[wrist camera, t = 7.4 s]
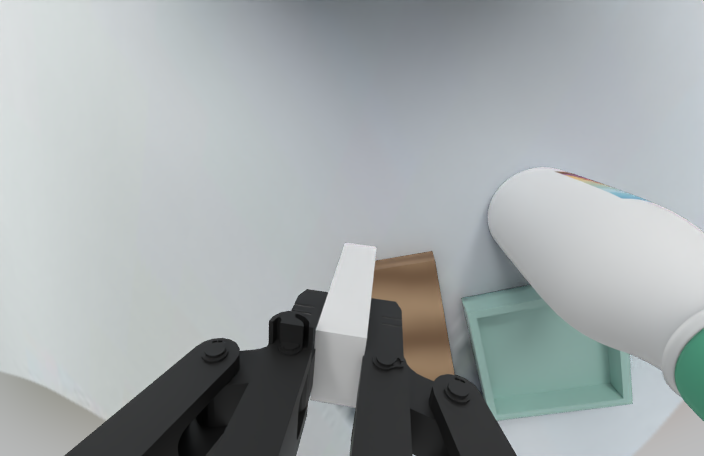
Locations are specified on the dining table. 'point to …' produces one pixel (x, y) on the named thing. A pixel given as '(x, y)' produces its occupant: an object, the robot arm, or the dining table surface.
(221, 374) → the robot arm
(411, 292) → the tan wooden board
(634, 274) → the milk bottle
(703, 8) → the dining table surface
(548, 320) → the tray
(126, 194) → the dining table surface
